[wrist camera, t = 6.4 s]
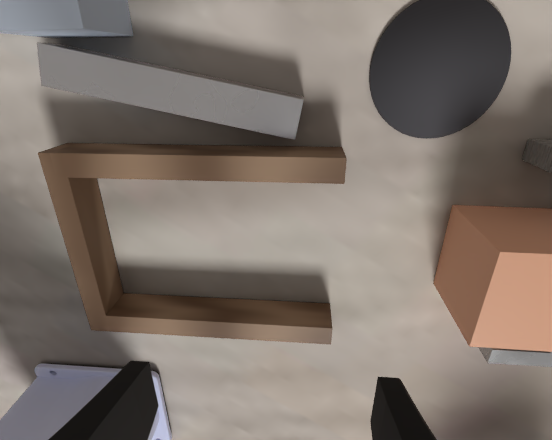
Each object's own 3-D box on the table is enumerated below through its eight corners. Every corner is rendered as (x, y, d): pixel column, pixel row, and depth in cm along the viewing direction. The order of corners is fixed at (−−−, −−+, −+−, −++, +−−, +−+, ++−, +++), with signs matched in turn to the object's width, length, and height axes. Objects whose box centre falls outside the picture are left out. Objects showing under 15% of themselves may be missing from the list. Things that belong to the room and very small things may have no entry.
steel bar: (66, 83, 17) (41, 85, 16) (63, 44, 17) (36, 42, 15) (296, 132, 17) (294, 139, 16) (304, 95, 17) (303, 99, 15)
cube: (433, 282, 20) (469, 346, 16) (451, 204, 18) (500, 252, 13) (521, 287, 20) (585, 353, 15) (551, 207, 18) (635, 258, 13)
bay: (110, 306, 23) (91, 330, 21) (67, 143, 18) (37, 152, 16) (328, 318, 22) (330, 344, 20) (342, 146, 17) (346, 158, 15)
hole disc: (362, 136, 17) (363, 137, 17) (377, -7, 14) (378, -8, 14) (488, 138, 16) (490, 139, 16) (526, -10, 14) (529, -11, 14)
